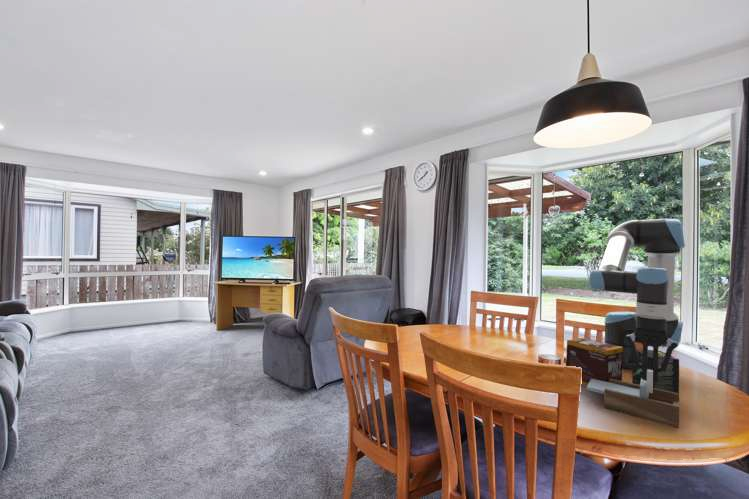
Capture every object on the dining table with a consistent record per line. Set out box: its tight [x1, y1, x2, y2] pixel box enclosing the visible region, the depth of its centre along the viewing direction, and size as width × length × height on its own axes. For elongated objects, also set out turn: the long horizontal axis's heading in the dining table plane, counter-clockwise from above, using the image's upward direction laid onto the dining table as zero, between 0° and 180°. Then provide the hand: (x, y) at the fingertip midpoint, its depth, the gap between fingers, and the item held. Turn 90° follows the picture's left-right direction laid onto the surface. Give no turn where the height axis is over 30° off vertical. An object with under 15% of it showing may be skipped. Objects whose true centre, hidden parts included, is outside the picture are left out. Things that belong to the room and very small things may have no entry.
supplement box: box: [565, 337, 623, 388], centre depth 131 cm, size 10×15×16 cm
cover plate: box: [586, 378, 649, 398], centre depth 114 cm, size 10×16×5 cm, turn 50°
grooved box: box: [603, 379, 680, 429], centre depth 110 cm, size 13×18×6 cm
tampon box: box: [631, 348, 680, 403], centre depth 122 cm, size 11×9×15 cm
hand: (649, 391), depth 108 cm, fingers closed
